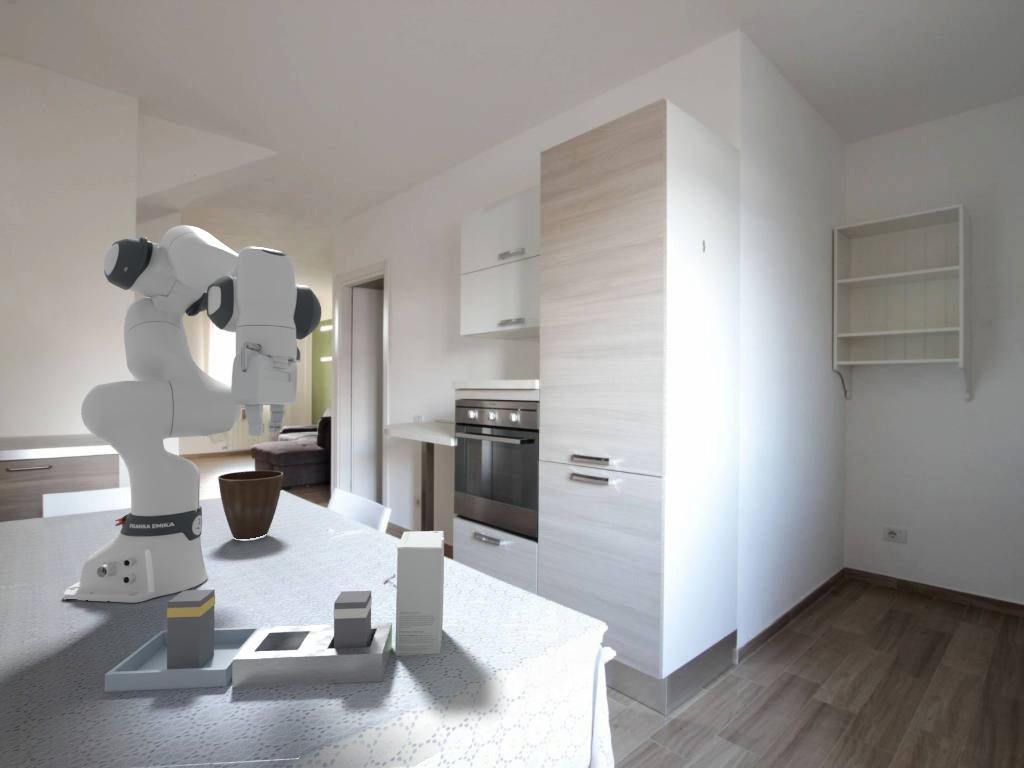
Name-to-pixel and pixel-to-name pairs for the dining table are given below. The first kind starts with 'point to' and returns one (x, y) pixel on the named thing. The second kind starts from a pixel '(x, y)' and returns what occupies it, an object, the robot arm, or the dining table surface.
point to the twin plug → (352, 619)
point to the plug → (190, 629)
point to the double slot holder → (309, 657)
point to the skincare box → (419, 593)
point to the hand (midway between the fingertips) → (266, 433)
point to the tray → (152, 673)
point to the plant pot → (250, 501)
